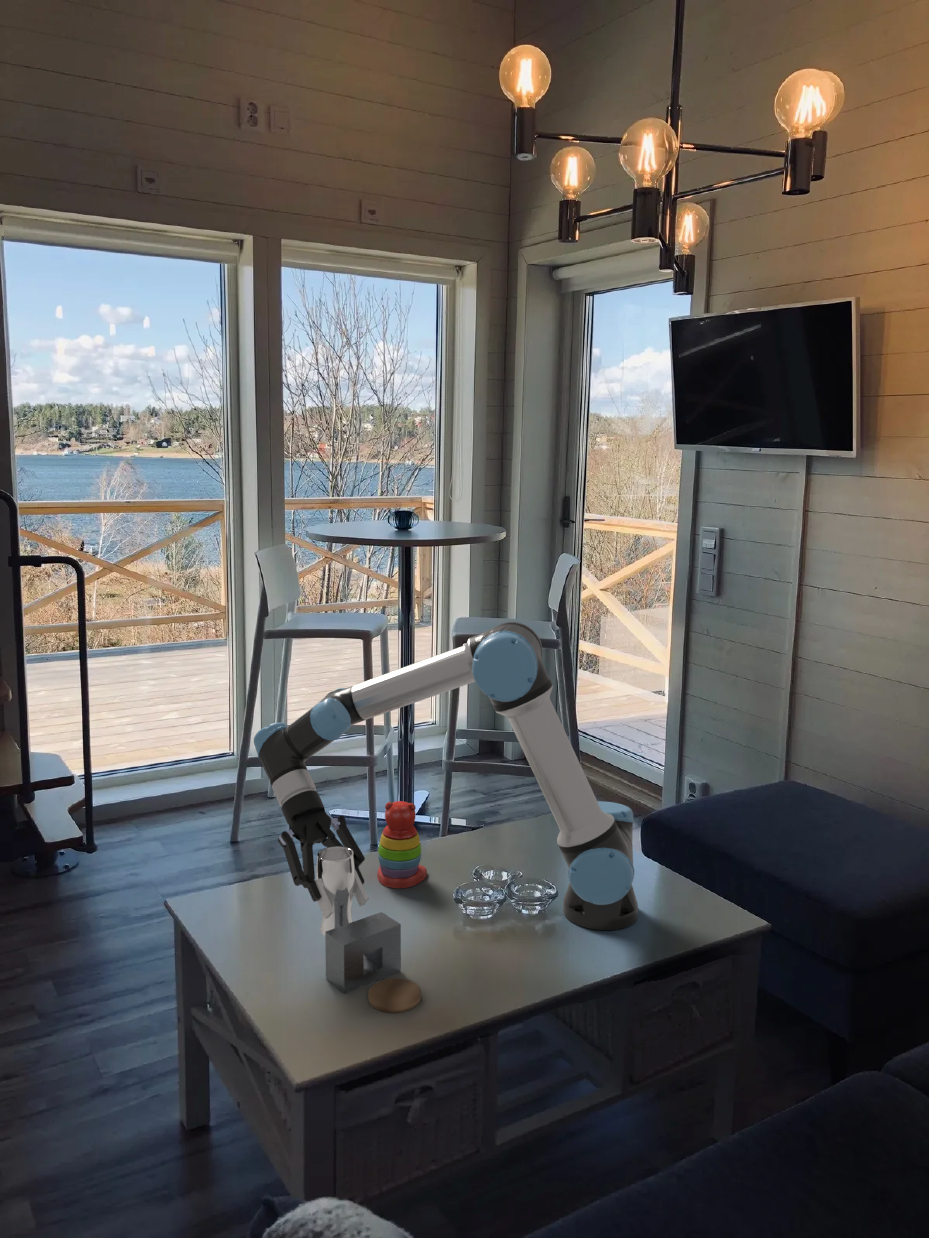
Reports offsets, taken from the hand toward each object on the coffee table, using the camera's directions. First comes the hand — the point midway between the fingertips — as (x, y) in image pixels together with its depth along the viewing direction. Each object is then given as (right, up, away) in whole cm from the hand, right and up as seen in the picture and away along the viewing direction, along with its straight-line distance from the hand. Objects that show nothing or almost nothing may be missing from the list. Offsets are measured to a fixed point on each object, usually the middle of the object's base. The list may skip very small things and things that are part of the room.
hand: (347, 908), depth 175 cm
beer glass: (-2, -5, +4) cm, 7 cm away
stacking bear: (+7, -5, +37) cm, 38 cm away
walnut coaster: (+9, -13, -9) cm, 18 cm away
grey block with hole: (+3, -11, -2) cm, 12 cm away
